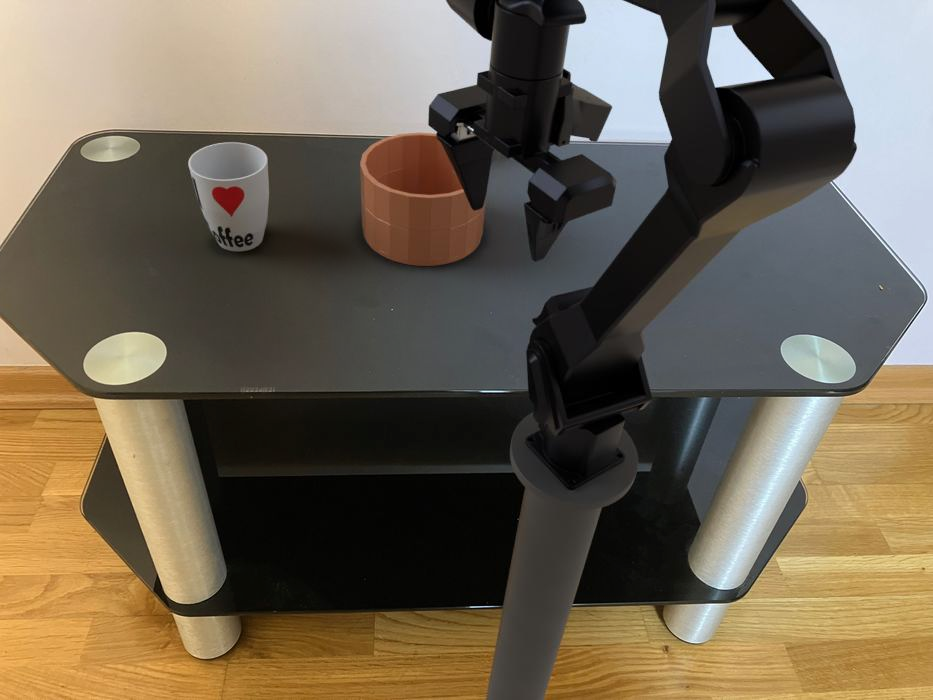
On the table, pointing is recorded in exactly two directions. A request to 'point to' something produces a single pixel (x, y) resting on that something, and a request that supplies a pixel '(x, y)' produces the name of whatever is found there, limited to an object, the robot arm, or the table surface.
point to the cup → (232, 192)
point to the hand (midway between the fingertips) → (506, 233)
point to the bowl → (416, 202)
